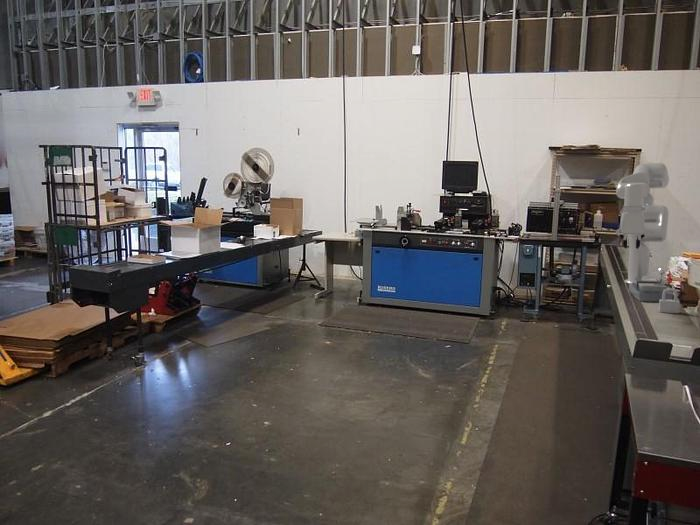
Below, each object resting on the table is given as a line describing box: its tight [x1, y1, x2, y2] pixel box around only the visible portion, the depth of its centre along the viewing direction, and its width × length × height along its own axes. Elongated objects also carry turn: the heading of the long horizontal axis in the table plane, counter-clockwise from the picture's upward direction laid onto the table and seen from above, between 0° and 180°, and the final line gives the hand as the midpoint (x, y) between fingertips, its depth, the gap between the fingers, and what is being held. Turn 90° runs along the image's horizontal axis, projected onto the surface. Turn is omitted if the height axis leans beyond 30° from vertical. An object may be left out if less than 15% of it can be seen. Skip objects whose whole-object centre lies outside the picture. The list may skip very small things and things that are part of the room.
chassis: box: [628, 278, 673, 303], centre depth 252 cm, size 26×13×7 cm, turn 162°
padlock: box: [658, 288, 681, 314], centre depth 222 cm, size 7×4×10 cm, turn 64°
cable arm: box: [642, 267, 667, 285], centre depth 255 cm, size 27×3×10 cm, turn 134°
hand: (631, 247), depth 256 cm, fingers open, 4 cm apart
